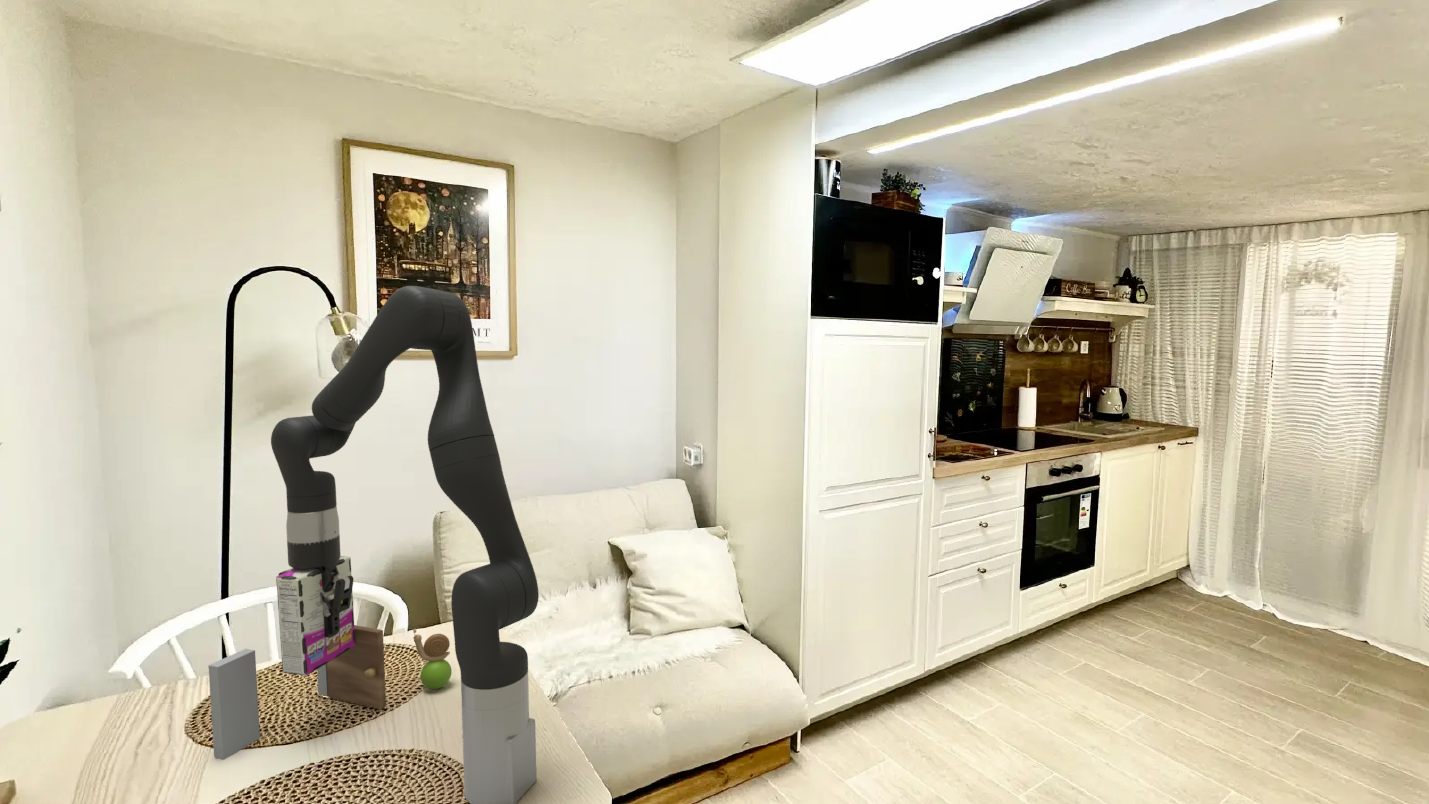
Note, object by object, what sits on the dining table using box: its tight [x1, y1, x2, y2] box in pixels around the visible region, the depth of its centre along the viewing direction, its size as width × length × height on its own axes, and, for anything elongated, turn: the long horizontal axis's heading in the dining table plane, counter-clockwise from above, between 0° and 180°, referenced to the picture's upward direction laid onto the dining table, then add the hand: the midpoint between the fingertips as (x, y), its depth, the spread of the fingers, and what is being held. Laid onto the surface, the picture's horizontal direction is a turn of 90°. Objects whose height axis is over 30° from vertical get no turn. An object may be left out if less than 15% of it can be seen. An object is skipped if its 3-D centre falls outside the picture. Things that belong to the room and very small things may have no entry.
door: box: [327, 624, 387, 710], centre depth 119 cm, size 2×12×14 cm, turn 71°
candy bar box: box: [275, 555, 356, 676], centre depth 111 cm, size 11×5×16 cm, turn 168°
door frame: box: [208, 648, 329, 761], centre depth 115 cm, size 2×25×15 cm, turn 163°
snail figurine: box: [412, 628, 452, 690], centre depth 125 cm, size 5×6×12 cm
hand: (318, 633), depth 112 cm, fingers closed on candy bar box, 5 cm apart
